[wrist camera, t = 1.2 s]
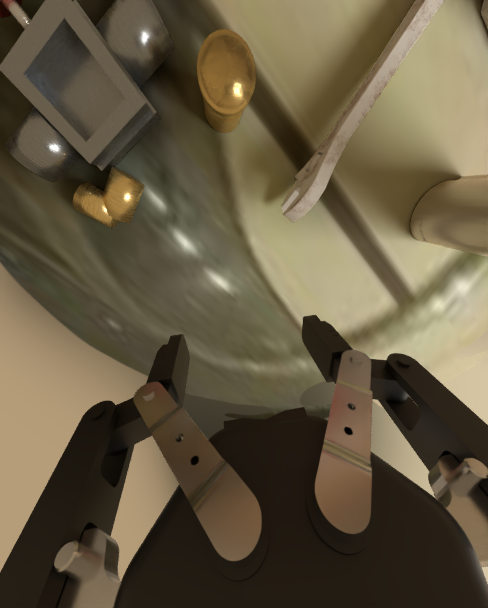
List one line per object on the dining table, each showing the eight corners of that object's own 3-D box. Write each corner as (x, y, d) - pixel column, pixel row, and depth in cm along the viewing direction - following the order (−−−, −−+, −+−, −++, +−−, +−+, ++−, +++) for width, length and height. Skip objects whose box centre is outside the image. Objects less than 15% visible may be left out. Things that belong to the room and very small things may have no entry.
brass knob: (226, 67, 22) (231, 10, 15) (251, 116, 24) (266, 85, 17) (192, 101, 23) (184, 62, 16) (220, 145, 25) (223, 127, 18)
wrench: (429, -7, 24) (278, 222, 30) (421, -24, 23) (268, 214, 30) (531, -108, 16) (302, 223, 23) (524, -136, 16) (291, 213, 22)
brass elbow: (148, 186, 26) (102, 157, 24) (139, 185, 23) (85, 151, 21) (130, 232, 29) (86, 208, 27) (119, 237, 26) (69, 211, 24)
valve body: (80, -101, 16) (30, -211, 12) (192, 84, 22) (187, 57, 18) (-40, 82, 20) (-113, 50, 16) (83, 199, 26) (56, 200, 22)
